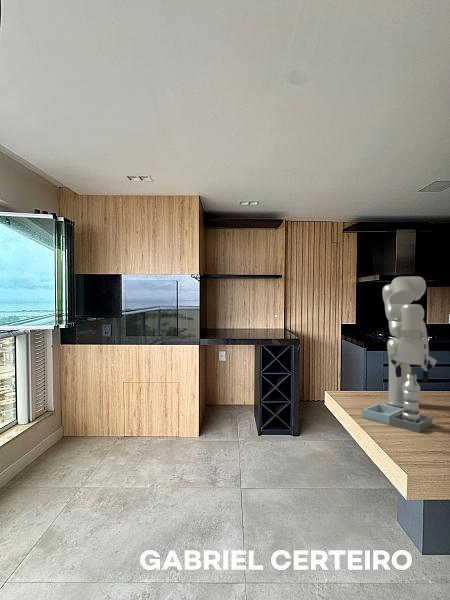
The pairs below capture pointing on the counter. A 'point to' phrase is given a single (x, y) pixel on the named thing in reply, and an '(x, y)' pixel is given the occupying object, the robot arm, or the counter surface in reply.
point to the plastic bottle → (411, 399)
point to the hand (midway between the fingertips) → (411, 378)
